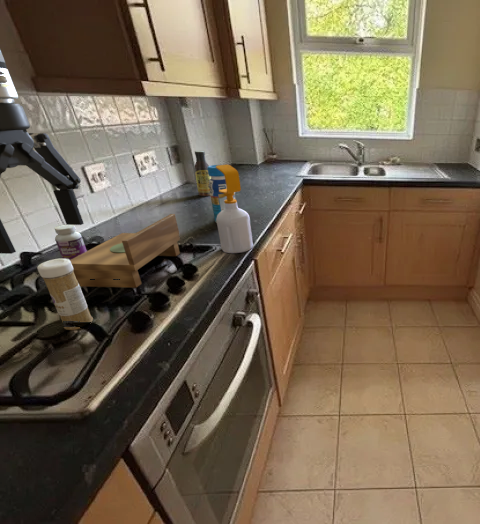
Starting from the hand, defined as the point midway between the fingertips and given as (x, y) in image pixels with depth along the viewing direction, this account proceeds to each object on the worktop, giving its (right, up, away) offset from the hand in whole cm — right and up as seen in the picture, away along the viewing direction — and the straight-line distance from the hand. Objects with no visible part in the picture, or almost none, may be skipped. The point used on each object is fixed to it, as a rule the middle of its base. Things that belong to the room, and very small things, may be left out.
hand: (44, 237), depth 57 cm
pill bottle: (-24, -4, +33) cm, 41 cm away
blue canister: (+3, +11, +66) cm, 67 cm away
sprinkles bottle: (-1, -17, +8) cm, 19 cm away
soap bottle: (+16, 0, +44) cm, 47 cm away
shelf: (-6, -6, +30) cm, 31 cm away
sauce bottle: (-21, +27, +99) cm, 105 cm away
